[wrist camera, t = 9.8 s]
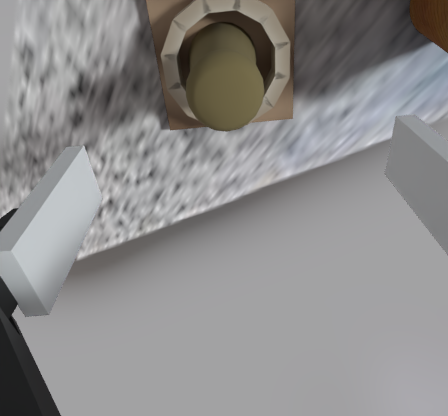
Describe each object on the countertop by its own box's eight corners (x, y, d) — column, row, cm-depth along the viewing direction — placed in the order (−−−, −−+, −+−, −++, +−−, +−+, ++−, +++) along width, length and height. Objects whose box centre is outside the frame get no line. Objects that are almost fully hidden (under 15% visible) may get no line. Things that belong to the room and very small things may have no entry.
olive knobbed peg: (265, 80, 32) (284, 126, 23) (203, 103, 33) (199, 156, 24) (243, 9, 29) (257, 31, 20) (176, 38, 30) (160, 71, 21)
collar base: (145, -14, 29) (137, -11, 26) (293, -30, 28) (302, -29, 26) (171, 126, 36) (167, 140, 33) (290, 114, 35) (297, 128, 32)
